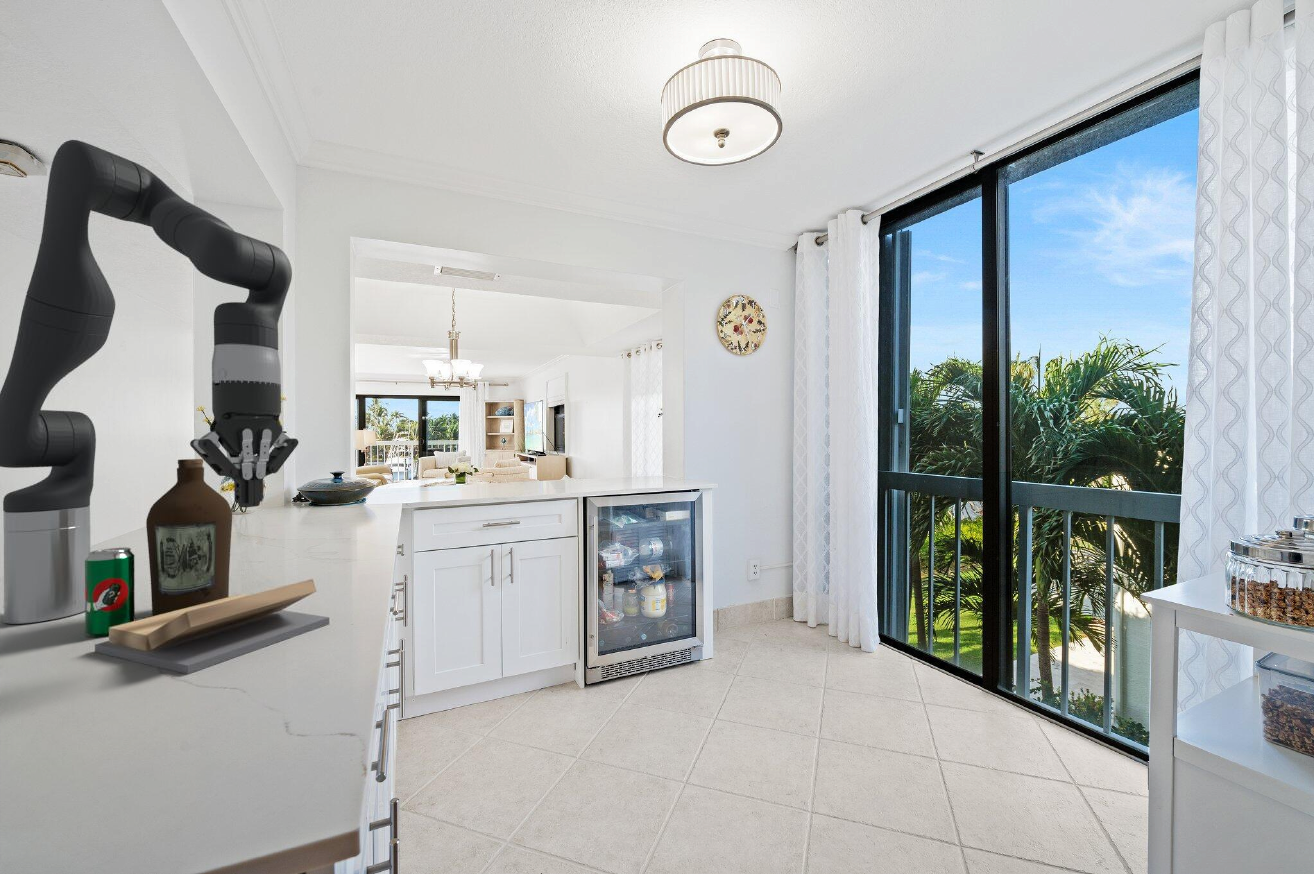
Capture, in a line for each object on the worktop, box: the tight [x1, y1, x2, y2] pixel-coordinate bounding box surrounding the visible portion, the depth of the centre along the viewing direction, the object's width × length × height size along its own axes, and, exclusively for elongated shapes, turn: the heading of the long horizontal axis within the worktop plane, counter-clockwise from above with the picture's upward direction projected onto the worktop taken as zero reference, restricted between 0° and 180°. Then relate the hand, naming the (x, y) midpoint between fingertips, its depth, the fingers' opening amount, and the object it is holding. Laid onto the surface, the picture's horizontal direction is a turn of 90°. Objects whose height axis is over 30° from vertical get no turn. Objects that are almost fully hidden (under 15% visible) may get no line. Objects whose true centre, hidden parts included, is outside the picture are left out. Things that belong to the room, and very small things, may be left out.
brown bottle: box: [145, 458, 233, 617], centre depth 87 cm, size 11×11×25 cm
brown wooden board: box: [148, 578, 317, 650], centre depth 73 cm, size 9×16×2 cm, turn 159°
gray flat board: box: [94, 609, 330, 675], centre depth 75 cm, size 20×18×1 cm
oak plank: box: [108, 593, 250, 651], centre depth 76 cm, size 8×16×2 cm, turn 159°
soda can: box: [84, 547, 136, 638], centre depth 77 cm, size 5×5×12 cm
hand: (248, 506), depth 72 cm, fingers closed
